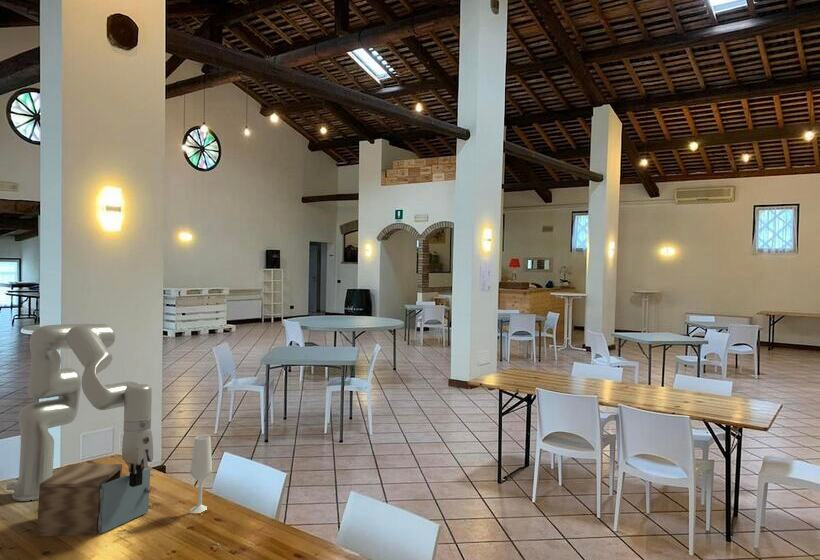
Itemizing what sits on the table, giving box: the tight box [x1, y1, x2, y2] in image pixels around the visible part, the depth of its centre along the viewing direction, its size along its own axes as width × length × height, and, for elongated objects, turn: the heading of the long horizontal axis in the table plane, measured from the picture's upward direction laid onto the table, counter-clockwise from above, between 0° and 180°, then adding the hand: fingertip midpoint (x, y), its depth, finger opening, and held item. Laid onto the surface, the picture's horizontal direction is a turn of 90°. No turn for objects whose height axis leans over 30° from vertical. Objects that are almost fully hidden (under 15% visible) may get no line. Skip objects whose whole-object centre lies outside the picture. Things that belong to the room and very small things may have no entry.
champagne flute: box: [189, 434, 213, 514], centre depth 173 cm, size 7×7×24 cm
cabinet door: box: [98, 467, 152, 534], centre depth 161 cm, size 2×17×14 cm, turn 159°
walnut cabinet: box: [36, 463, 123, 537], centre depth 161 cm, size 16×17×15 cm
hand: (135, 485), depth 162 cm, fingers closed
